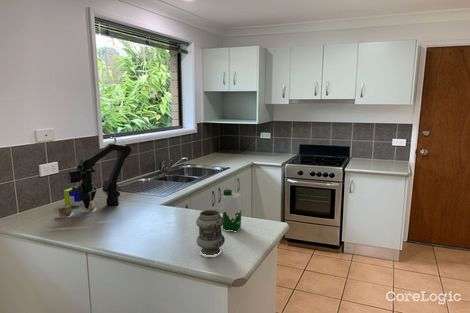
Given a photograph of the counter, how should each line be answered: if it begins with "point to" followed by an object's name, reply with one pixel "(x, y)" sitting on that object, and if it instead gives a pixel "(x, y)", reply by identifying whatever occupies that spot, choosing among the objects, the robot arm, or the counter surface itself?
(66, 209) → the walnut cube
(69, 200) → the puzzle toy
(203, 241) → the apothecary jar
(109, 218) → the counter surface
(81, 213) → the mat
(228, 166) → the counter surface
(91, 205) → the maple cube
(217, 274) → the counter surface
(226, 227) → the milk carton
